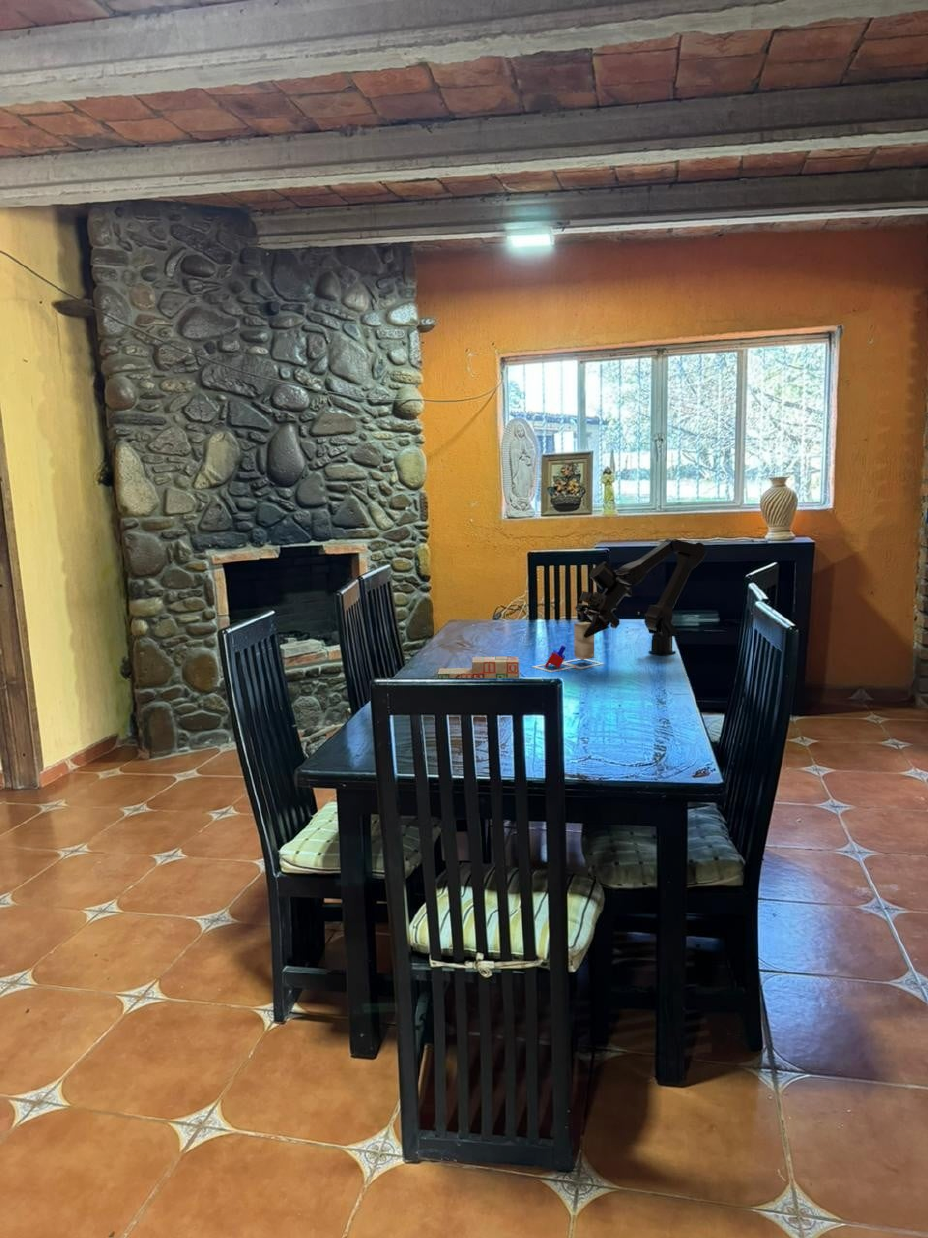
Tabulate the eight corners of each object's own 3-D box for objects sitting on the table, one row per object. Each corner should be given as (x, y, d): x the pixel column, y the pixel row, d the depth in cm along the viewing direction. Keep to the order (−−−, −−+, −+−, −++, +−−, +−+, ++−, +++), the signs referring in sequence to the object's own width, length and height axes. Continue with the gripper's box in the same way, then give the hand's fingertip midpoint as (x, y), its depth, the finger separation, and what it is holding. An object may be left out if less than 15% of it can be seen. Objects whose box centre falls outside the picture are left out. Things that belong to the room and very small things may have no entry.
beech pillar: (586, 655, 259) (586, 621, 257) (594, 657, 255) (594, 623, 253) (574, 656, 257) (574, 622, 255) (581, 659, 253) (581, 625, 251)
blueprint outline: (579, 657, 264) (579, 657, 264) (604, 663, 254) (604, 663, 254) (531, 667, 254) (531, 666, 254) (555, 673, 244) (555, 673, 244)
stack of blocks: (438, 708, 212) (436, 662, 210) (440, 701, 218) (438, 657, 216) (519, 707, 211) (518, 661, 208) (519, 700, 217) (519, 655, 215)
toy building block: (556, 673, 251) (568, 651, 249) (544, 666, 252) (556, 644, 249) (557, 670, 255) (570, 648, 252) (546, 663, 255) (558, 642, 253)
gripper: (579, 578, 262) (550, 615, 260) (611, 585, 245) (579, 624, 243) (600, 600, 266) (571, 637, 264) (633, 608, 249) (602, 647, 247)
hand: (580, 635), depth 254 cm, fingers closed on beech pillar, 4 cm apart
